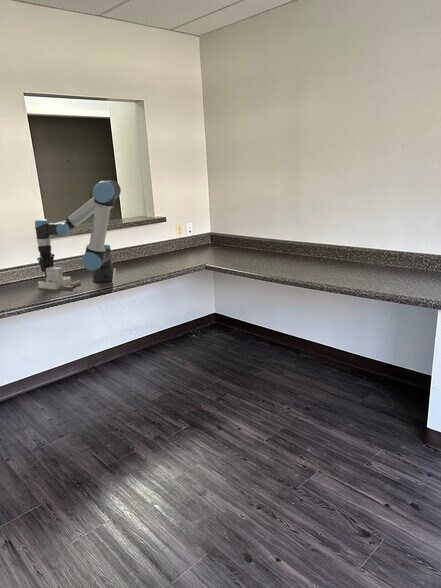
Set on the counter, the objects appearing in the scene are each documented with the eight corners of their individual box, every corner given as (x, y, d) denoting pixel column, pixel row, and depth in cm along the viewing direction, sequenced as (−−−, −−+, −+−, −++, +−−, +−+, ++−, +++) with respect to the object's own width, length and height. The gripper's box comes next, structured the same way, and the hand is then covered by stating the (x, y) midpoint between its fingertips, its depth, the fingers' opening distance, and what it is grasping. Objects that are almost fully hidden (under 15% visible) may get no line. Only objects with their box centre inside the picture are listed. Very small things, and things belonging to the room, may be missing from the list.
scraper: (74, 283, 282) (73, 280, 281) (84, 284, 279) (84, 281, 278) (60, 289, 270) (60, 285, 270) (71, 290, 268) (70, 286, 267)
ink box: (64, 285, 279) (62, 267, 275) (60, 287, 274) (58, 269, 271) (52, 284, 280) (49, 266, 277) (47, 286, 276) (45, 268, 272)
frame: (71, 283, 283) (71, 277, 282) (56, 289, 270) (55, 283, 269) (55, 281, 287) (54, 275, 286) (38, 287, 274) (38, 281, 273)
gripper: (46, 242, 280) (51, 278, 287) (31, 246, 268) (37, 284, 275) (56, 243, 277) (61, 279, 284) (41, 247, 265) (46, 285, 273)
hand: (49, 281), depth 280 cm, fingers closed
